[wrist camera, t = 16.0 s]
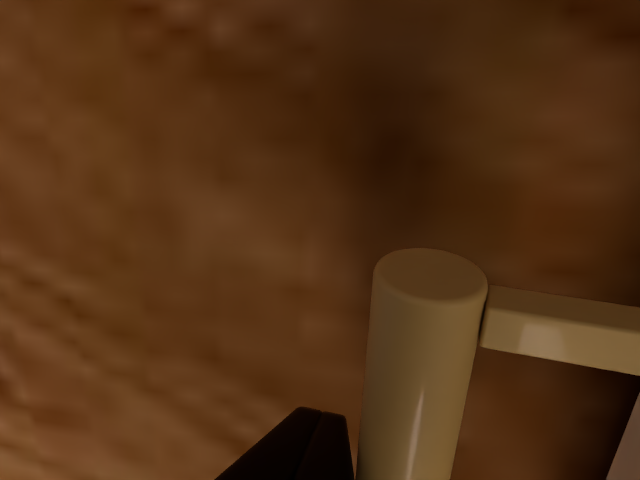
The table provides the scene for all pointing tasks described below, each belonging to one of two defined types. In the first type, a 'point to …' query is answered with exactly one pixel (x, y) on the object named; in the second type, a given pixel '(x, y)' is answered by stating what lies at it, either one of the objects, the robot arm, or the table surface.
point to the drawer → (468, 357)
